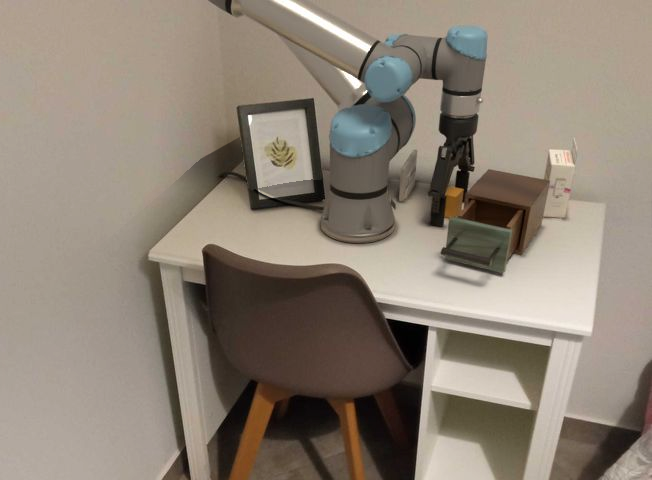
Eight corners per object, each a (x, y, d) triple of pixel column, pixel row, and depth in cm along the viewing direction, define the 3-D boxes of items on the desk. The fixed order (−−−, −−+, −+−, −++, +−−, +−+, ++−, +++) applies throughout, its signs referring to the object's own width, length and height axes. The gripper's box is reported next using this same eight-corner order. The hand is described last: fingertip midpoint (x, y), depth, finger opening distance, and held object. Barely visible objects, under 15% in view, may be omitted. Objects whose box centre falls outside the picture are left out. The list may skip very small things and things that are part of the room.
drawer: (492, 289, 125) (499, 247, 120) (432, 273, 130) (436, 232, 125) (523, 244, 138) (530, 205, 133) (467, 231, 142) (472, 193, 138)
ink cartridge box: (538, 199, 156) (550, 134, 147) (561, 201, 155) (575, 135, 146) (540, 217, 149) (554, 149, 140) (565, 218, 148) (580, 150, 139)
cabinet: (521, 255, 136) (530, 207, 130) (459, 240, 141) (465, 193, 135) (541, 226, 146) (550, 180, 140) (481, 214, 151) (488, 168, 145)
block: (433, 214, 151) (435, 192, 148) (441, 206, 154) (443, 184, 151) (453, 218, 149) (456, 196, 146) (461, 210, 152) (463, 188, 149)
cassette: (404, 202, 156) (407, 169, 151) (396, 201, 157) (398, 168, 152) (417, 181, 165) (419, 149, 160) (409, 180, 166) (411, 148, 161)
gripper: (454, 135, 129) (443, 240, 141) (498, 97, 146) (484, 193, 158) (416, 129, 132) (409, 231, 144) (463, 92, 149) (452, 187, 162)
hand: (448, 212), depth 152 cm, fingers open, 13 cm apart
